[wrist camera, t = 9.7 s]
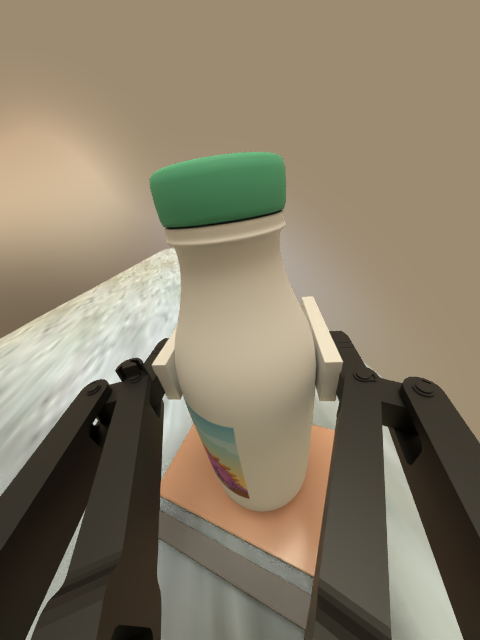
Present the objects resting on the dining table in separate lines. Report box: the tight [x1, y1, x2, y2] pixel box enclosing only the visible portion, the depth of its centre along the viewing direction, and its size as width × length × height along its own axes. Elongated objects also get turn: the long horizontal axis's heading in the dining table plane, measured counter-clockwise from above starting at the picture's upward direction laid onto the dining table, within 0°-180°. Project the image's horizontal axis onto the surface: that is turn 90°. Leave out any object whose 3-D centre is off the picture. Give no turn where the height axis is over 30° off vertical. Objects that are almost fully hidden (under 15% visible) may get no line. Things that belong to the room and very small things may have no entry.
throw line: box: [158, 511, 311, 630], centre depth 13 cm, size 18×1×2 cm, turn 69°
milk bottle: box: [150, 152, 316, 512], centre depth 12 cm, size 8×8×20 cm
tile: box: [160, 424, 335, 578], centre depth 18 cm, size 16×10×1 cm, turn 69°
